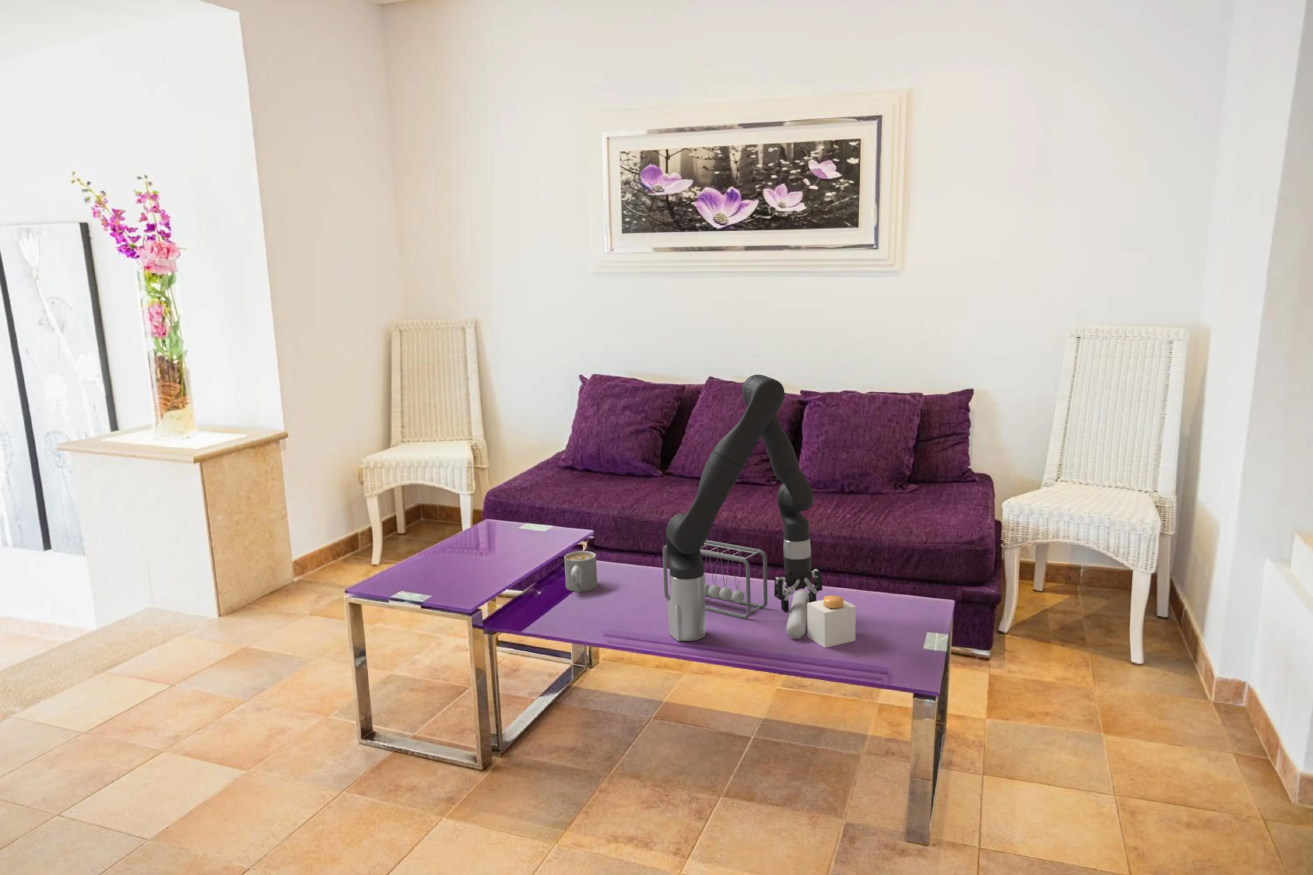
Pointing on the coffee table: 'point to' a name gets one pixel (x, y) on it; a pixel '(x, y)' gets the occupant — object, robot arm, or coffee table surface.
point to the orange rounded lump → (833, 602)
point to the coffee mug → (580, 571)
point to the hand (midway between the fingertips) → (799, 608)
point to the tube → (798, 615)
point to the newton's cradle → (725, 592)
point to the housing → (831, 623)
